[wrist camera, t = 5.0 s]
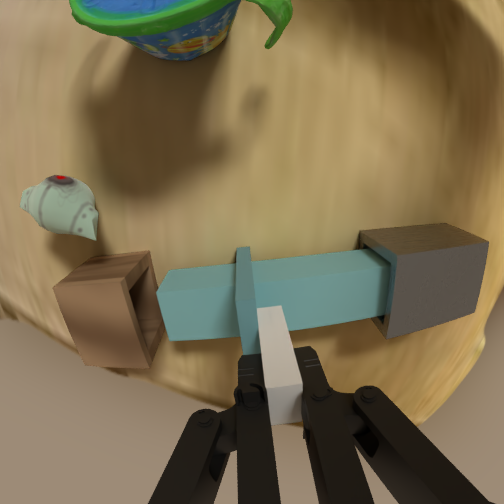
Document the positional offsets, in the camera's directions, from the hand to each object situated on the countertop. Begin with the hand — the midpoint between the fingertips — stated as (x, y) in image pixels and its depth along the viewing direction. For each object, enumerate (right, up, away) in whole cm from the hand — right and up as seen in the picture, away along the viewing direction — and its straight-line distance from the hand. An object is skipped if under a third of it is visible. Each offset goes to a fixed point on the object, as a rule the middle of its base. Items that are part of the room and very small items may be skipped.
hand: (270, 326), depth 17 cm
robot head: (-15, +9, +4) cm, 18 cm away
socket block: (-12, +1, +6) cm, 14 cm away
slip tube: (+4, +3, +7) cm, 8 cm away
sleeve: (+13, +4, +7) cm, 15 cm away
